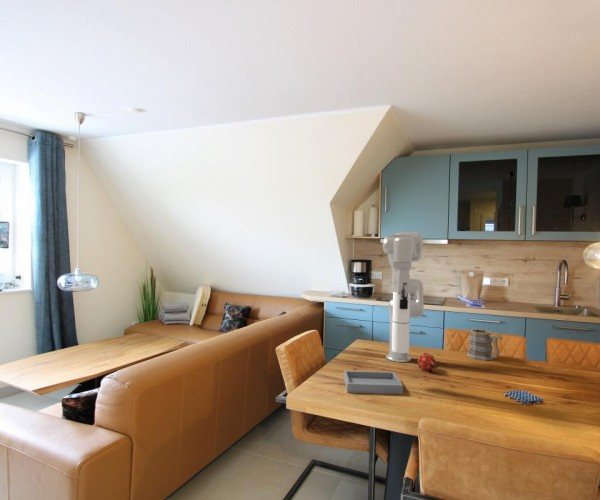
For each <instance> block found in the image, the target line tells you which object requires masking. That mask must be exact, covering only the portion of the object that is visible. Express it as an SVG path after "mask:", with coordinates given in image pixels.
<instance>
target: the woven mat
mask: <svg viewBox="0 0 600 500" xmlns="http://www.w3.org/2000/svg"><path fill="white" fill-rule="evenodd" d="M503 397H507V398H508V399H510V400H512V401H513V402H516V403H519V404H521V405H523V406H531V405H532V406H533V405H537V404H538V405H540V404H545V400H544V398H541V397H539V396H537V395H535V394H532V393H530V392H528V391H526V390H522V389H519V390H518V389H516V390H513V391H512V390H510V391H509V390H508V391H507V392H506V391H503Z"/></svg>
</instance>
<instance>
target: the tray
mask: <svg viewBox="0 0 600 500" xmlns="http://www.w3.org/2000/svg"><path fill="white" fill-rule="evenodd" d="M343 380H344V385H345V388H346V393H350V394H351V393H352V394H353V393H354V394H355V393H356V394H357V393H358V394H382V395H383V394H384V395H386V394H387V395H389V394H390V395H403V391H404V390H403V388H404V387H403V386H404V385H403V383H402V382H401V381H400V379H399V378H398V375H396V373H395V372H394V371H373V370H372V371H371V370H369V371H367V370H365V371H364V370H343Z"/></svg>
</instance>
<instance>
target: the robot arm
mask: <svg viewBox="0 0 600 500" xmlns="http://www.w3.org/2000/svg"><path fill="white" fill-rule="evenodd" d="M423 241H424V240H423V237H422V234H421V233H420V232H418V231H417V232H416V231H415V232H413V231H411V232H409V231H408V232H406V231H401V232H398V233H397V232H396V233H395V234H391V235H386V236H385V237H384V239H383V241H382V250H383V252H384V253H385V254H387V259H388V262H389V266H390V268H391V292H392V294H393V292H396V293H399V292H400V296H401V299H400V309H408V293H410V318H413V319H414V318H415V319H420V318H422V316H423V315H424V310H425V309H424V285H423V282H422V280H420V279H415V278H410V271H412V262H419V261H420V260H421V259H422V254H423V246H424V245H423V243H424V242H423ZM402 294H403V296H402ZM388 313H389V344H388V345H389V348H388V351H389V353H387V354H386V356H385V359H387V361H392V362H396V363H397V362H398V363H407V362H410V361H411V360H412V357H411V356H410V355H409V352H408V353H397V352H394V351H392V322H393V298H392V299H390V300H389V302H388Z"/></svg>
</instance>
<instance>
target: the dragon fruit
mask: <svg viewBox="0 0 600 500" xmlns="http://www.w3.org/2000/svg"><path fill="white" fill-rule="evenodd" d="M417 362H418V368H419V369H422V370H423V371H424V372H425V373H429V371H434V370H435V369H436V368H437V369H438V368H439V365H440V364H438V363H437V361H436V359H435V356H434V355H432V354H430V353H428V352H423V353H422V354H420V355H419V357H418V358H417Z"/></svg>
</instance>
